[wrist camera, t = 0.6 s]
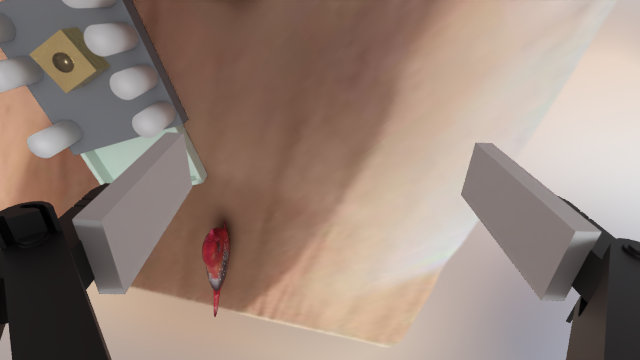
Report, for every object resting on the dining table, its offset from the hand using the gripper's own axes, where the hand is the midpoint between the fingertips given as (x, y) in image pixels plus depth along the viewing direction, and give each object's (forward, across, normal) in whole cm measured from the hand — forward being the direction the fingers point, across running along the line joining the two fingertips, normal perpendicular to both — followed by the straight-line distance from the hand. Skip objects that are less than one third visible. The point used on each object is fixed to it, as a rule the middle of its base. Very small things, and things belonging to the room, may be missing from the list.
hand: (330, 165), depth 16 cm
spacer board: (+28, -26, -2) cm, 38 cm away
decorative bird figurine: (+28, -13, -28) cm, 41 cm away
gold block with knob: (+26, -26, 0) cm, 37 cm away
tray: (+28, -22, -14) cm, 38 cm away
